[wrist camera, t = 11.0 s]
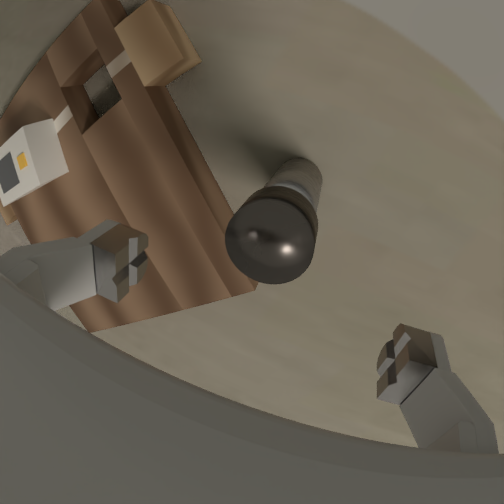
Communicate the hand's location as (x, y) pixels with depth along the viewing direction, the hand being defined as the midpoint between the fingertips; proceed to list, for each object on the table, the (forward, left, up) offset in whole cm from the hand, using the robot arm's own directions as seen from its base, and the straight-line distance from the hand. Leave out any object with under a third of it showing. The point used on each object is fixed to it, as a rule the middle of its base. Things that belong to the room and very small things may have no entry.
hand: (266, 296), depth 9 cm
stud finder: (-17, +12, -9) cm, 23 cm away
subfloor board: (-15, +7, -11) cm, 20 cm away
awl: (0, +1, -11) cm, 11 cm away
